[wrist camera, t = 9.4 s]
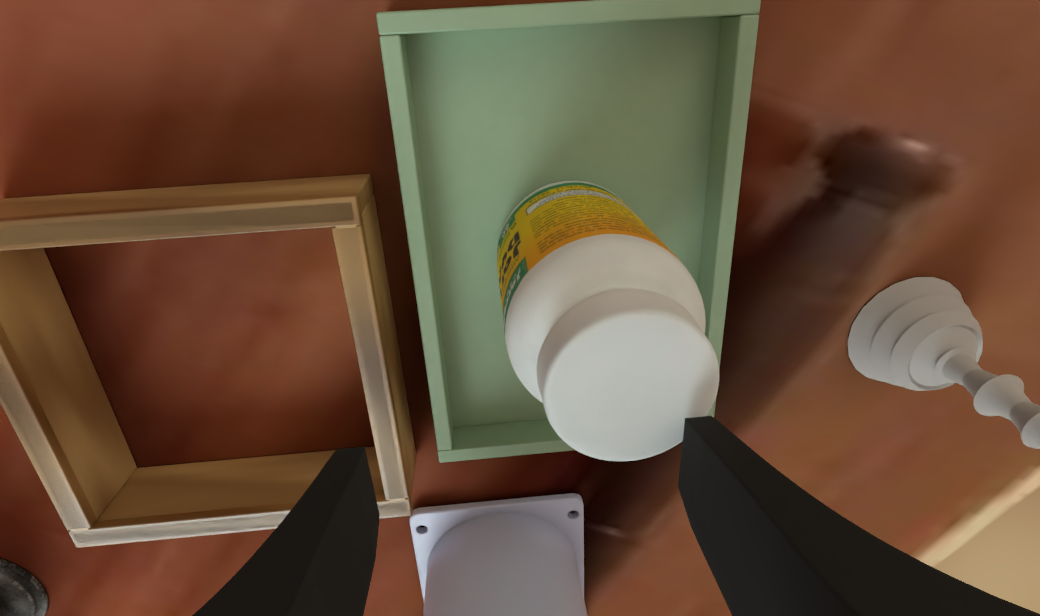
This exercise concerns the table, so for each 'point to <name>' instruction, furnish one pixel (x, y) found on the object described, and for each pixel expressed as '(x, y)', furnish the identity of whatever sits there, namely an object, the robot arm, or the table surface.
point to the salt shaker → (20, 592)
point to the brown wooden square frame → (84, 404)
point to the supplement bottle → (603, 323)
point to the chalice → (935, 350)
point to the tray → (555, 166)
